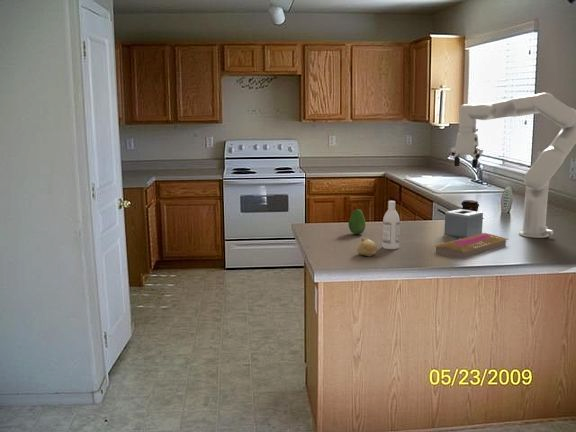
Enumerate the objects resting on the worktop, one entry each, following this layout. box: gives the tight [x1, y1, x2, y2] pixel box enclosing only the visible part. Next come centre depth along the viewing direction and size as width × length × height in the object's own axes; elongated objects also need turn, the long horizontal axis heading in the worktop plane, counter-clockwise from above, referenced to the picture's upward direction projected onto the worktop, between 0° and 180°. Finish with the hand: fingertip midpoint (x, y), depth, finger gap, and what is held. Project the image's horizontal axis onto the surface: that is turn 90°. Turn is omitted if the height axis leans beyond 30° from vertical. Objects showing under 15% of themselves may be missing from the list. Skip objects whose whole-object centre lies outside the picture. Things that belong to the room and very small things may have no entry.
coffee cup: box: [460, 199, 480, 212], centre depth 299 cm, size 9×8×13 cm
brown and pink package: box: [433, 232, 510, 260], centre depth 252 cm, size 35×14×6 cm, turn 132°
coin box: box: [443, 208, 484, 239], centre depth 279 cm, size 12×12×11 cm
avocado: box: [348, 208, 366, 235], centre depth 282 cm, size 8×8×12 cm
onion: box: [356, 237, 378, 257], centre depth 243 cm, size 8×8×7 cm
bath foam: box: [381, 200, 401, 250], centre depth 254 cm, size 7×7×20 cm
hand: (465, 166), depth 289 cm, fingers open, 9 cm apart
